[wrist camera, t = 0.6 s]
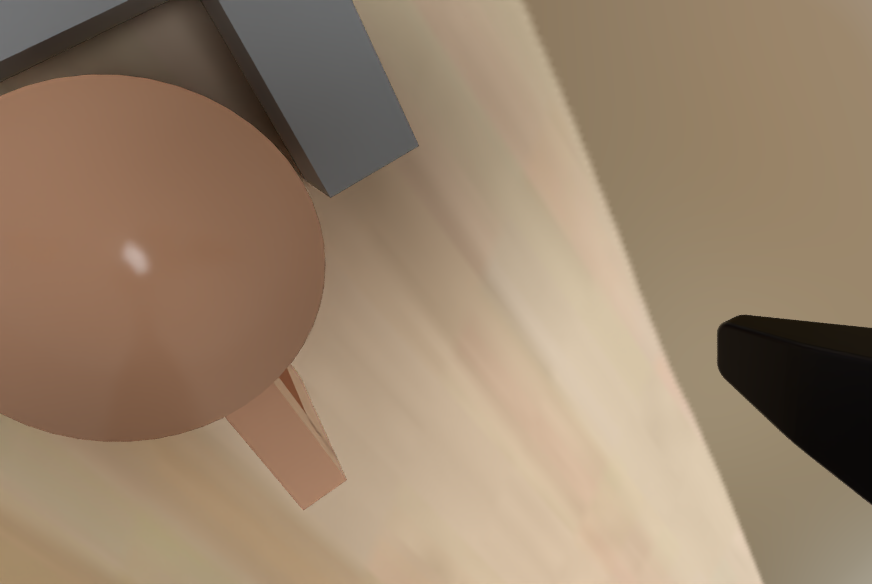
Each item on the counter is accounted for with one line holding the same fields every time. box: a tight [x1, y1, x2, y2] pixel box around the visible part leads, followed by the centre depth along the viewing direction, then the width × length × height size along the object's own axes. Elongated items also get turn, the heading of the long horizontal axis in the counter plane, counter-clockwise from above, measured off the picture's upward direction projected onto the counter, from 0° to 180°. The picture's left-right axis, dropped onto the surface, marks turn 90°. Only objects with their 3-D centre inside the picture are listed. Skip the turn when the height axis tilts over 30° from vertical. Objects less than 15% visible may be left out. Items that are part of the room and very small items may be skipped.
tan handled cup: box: [0, 75, 347, 510], centre depth 15 cm, size 6×10×9 cm, turn 25°
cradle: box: [0, 0, 419, 198], centre depth 15 cm, size 14×9×4 cm, turn 115°
